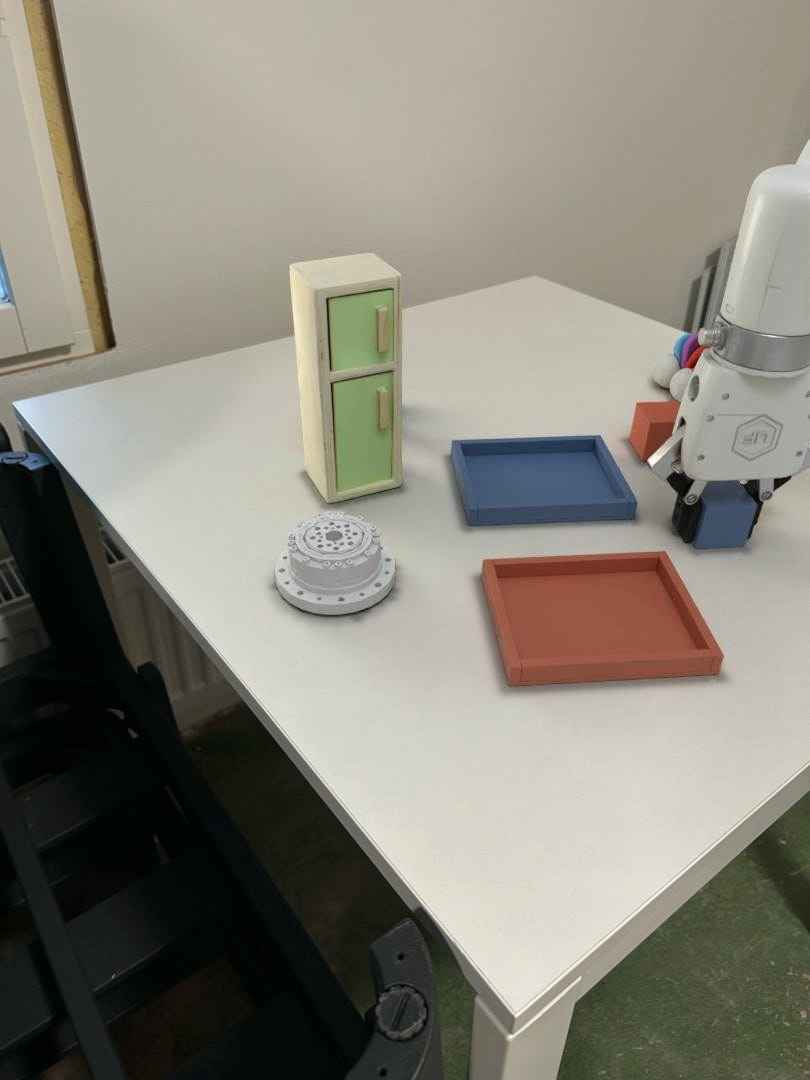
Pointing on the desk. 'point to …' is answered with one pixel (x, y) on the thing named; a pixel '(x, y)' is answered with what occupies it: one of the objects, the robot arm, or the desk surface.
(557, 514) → the blue tray
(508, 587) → the terracotta tray
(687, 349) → the rainbow petal toy
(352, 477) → the toy refrigerator
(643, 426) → the terracotta block
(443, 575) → the desk surface
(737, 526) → the blue block
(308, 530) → the mechanical component
